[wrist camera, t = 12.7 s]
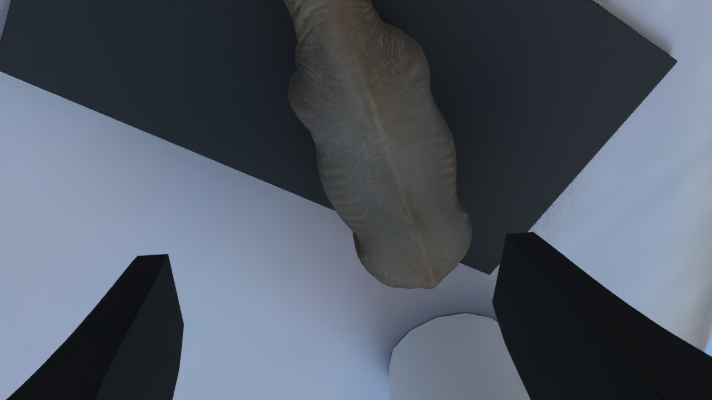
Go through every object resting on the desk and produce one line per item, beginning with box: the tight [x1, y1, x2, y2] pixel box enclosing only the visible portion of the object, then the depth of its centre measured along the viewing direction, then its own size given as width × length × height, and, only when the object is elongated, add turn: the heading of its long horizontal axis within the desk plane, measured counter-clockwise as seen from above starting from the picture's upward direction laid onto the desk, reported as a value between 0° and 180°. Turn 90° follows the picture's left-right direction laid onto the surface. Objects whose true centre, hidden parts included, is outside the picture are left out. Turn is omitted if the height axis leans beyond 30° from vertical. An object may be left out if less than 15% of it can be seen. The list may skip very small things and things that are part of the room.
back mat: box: [0, 0, 677, 275], centre depth 19 cm, size 20×11×1 cm, turn 59°
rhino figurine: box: [283, 0, 472, 289], centre depth 16 cm, size 4×14×6 cm, turn 19°
